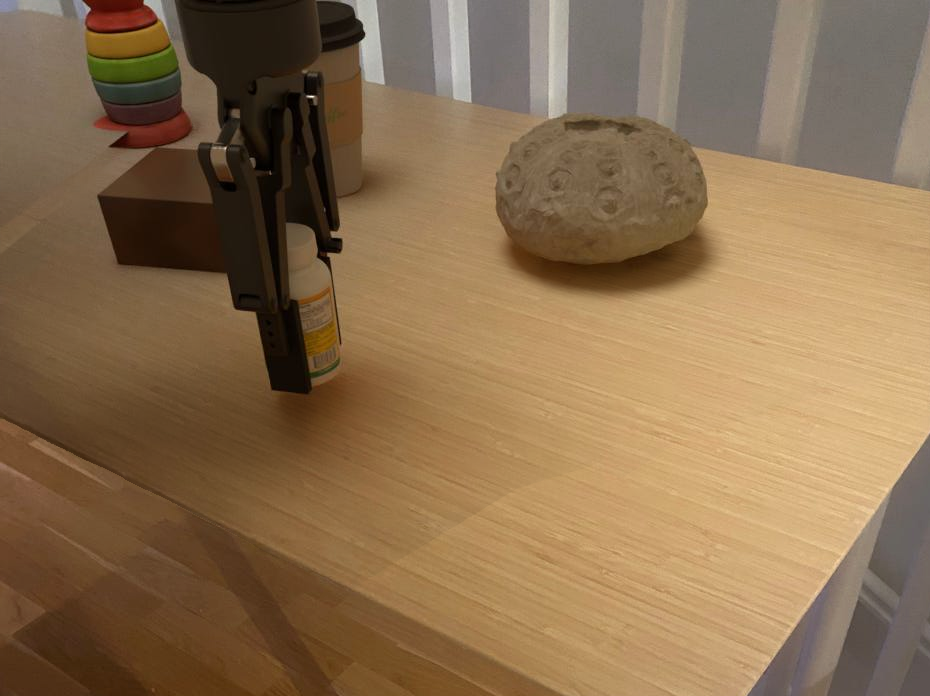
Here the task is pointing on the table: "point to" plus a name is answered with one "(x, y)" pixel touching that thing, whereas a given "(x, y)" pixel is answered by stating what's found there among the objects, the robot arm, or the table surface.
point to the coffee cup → (342, 91)
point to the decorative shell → (599, 188)
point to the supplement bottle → (313, 303)
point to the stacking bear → (134, 73)
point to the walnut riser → (164, 213)
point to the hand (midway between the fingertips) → (307, 365)
